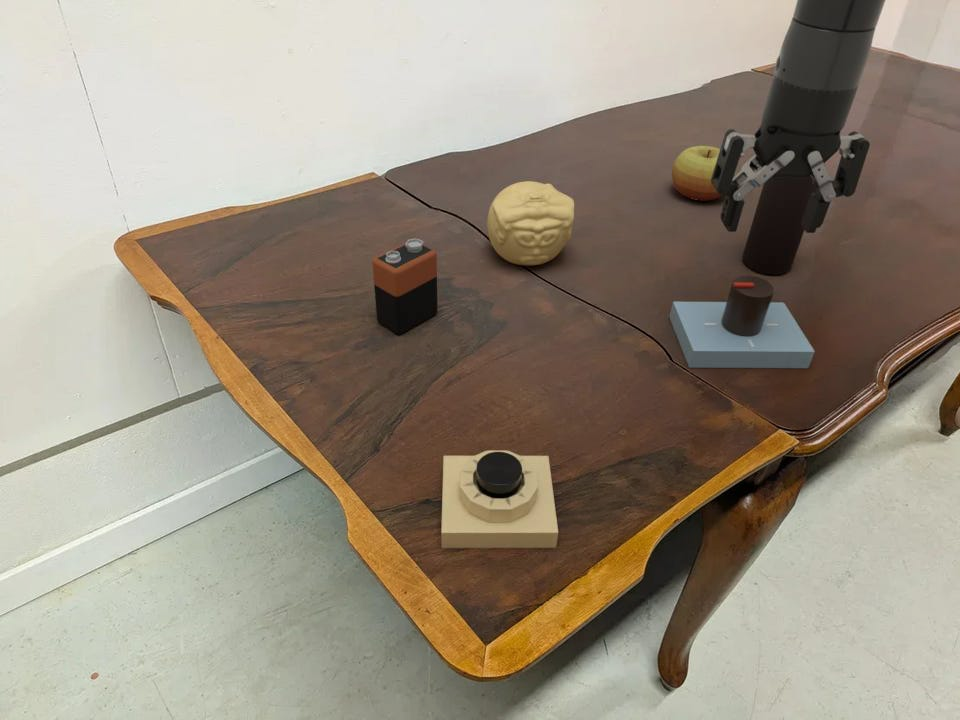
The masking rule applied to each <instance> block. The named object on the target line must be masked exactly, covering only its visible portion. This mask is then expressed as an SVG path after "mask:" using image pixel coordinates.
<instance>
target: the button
mask: <svg viewBox="0 0 960 720" xmlns="http://www.w3.org/2000/svg"><path fill="white" fill-rule="evenodd" d="M521 479H522V466H521V463H520V462H519V460H518V459H517V458H516V457H515V456H513V455H511V454H509V453H505V452H492V453H488V454H486V455H484V456H483V457H482V458H481V459H480V460H479V461H478V463H477V468H476V483H477V486H478V488H479V490H480V491H481V492H482V493H484V494H485V495H487V496H489V497H492V498H507V497H510V496H512V495H514V494H515V493H516V492H517V491H518V490H519V488H520V486H521Z"/></svg>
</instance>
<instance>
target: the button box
mask: <svg viewBox="0 0 960 720" xmlns="http://www.w3.org/2000/svg"><path fill="white" fill-rule="evenodd" d="M492 452H505V453H509V454H511V455H513V456H515V457H516V458H517V459H518V460H519V462H520V463H521V466H522V479H521V486H520V488H519V490H518V491H517V492H516V493H515V494H514V495H512V496H510V497H507V498H492V497H489V496H487V495H485V494H484V493H482V492H481V491H480V490H479V488H478V486H477V483H476V468H477V463H478V461H479V460H480V459H481V458H482V457H483V456H484V455H486V454H488V453H492ZM442 461H443V463H442V492H441V493H442V495H441V530H440V534H441V536H440V537H441V549H557V545H558V537H559V527H558V519H557V511H556V505H555V504H556V503H555V502H556V501H555V497H554V496H555V494H554V489H553V488H554V487H553V481H552V473H551V464H550V457H549V455H519V454H517V453H515V452H512V451H510V450H507V449H506V450H505V449H503V450H499V449H497V450H494V449H493V450H491V449H490V450H485V451H482V452H479V453H478V454H476V455H443V460H442Z"/></svg>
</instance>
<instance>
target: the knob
mask: <svg viewBox="0 0 960 720" xmlns="http://www.w3.org/2000/svg"><path fill="white" fill-rule="evenodd" d="M728 292H729V293H728V296H727V298H726V299H727V300H726V302H727V303H726V306H725V310H724V313H723V317H722V320H721V323H722V325H723V327H724V328H725V329H726V330H728V331H729V332H731V333H733V334H736V335H739V336H754V335H757V334H758V333H760V331H761V329H762V326H763V323H764V320H765V317H766V314H767V311H768V308H769V305H770V302H771V301H772V299H773V296H774V292H775V288H774V285H773V284H771V283H770V281H768V280H766V279H764V278H762V277H758V276H756V275H740V276H737V277H735V278H734V279H733V281H732V282H731V286H730V289H729V291H728Z"/></svg>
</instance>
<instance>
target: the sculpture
mask: <svg viewBox="0 0 960 720" xmlns="http://www.w3.org/2000/svg"><path fill="white" fill-rule="evenodd" d="M491 202H492V203H491V204H490V207H489V209H488V213H487V220H486V226H487V235H488V238H489V241H490V244H491V246H492V248H493V249H494V251H495V252H496V253H497V254H498V255H499V256H500V257H501V258H502V259H503V260H505V261H507V262H509V263H511V264H514V265H520V266H530V267H532V266H533V267H534V266H538V265H539V266H540V265H543V264H545V263H548V262H550V261H552V260H553V259H554V258H556V256H558V255H559V254H560V252H561V251H562V250H563V248H564V247H565V246H566V244H567V242H568V241H570V240H571V238H572V233H573V232H572V229H573V227H574V219H575V201H574V199H573V198H572V197H570V196H568V195H567V194H564V193H563V192H561V191H560V190H557V188H555V187H554V186H553V185H552V184H551V183H542V182H538V181H531V180H530V181H519V182H515V183H512V184H510V185H508V186H506V187H505V188H503V189H502V190H501V191H499V193H498V194H497V195H496V196H495V197H494V199H493V200H492V201H491Z"/></svg>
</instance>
